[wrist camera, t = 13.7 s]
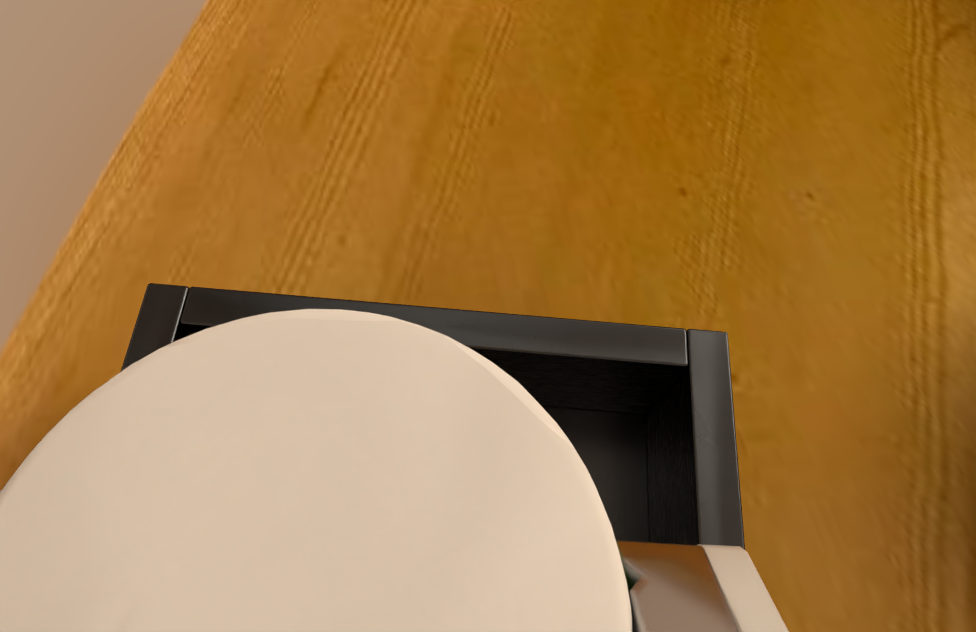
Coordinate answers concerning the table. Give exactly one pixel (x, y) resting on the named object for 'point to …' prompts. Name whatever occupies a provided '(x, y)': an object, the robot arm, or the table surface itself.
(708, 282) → the table surface
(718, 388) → the open square tray
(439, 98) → the table surface
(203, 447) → the supplement bottle
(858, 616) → the table surface
